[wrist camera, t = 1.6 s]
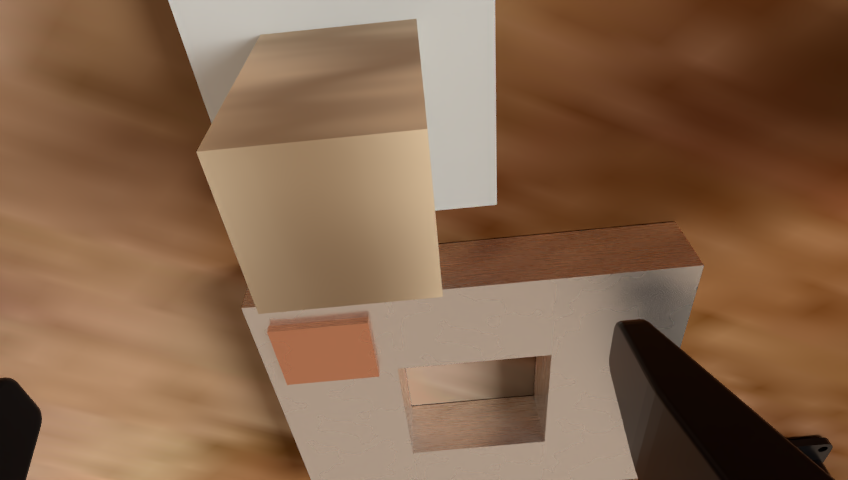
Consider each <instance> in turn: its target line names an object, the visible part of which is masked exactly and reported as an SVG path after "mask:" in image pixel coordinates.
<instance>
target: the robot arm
mask: <svg viewBox="0 0 848 480" xmlns="http://www.w3.org/2000/svg"><path fill="white" fill-rule="evenodd" d="M609 368H610V373H611V378H612V382H613V386H614V389H615V393H616V397H617V401H618V405H619V409H620V413H621V417H622V421H623V425H624V429H625V433H626V437H627V441H628V445H629V449H630V453H631V457H632V460H633V464H634V468H635V471H636V474H637V477H638V480H835V479H833V478H832V477H831V475H830V474H829V472H828V470H827V469H826V467H825V466H824V464H823V462H824V460H825V459H826V457H827V456H828V454H829V453H830V451H831V450H832V447H833V446H832V445H831V443H830V442H829V440H828V439H827V438H811V439H799V440H787V439H786V438H785V437H784V436H783V435H782V434H780V433H779V432H778V431H777V430H776V429H775V428H773V427H772V426H771V425H770V424H769V423H767V422H766V421H765V420H764V419H763V418H762V417H760V416H759V415H758V414H757V413H756V412H755V411H753V410H752V409H751V408H750V407H749V406H747V405H746V404H745V403H744V402H743V401H742V400H740V399H739V398H738V397H737V396H736V395H734V394H733V393H732V392H731V391H730V390H729V389H727V388H726V387H725V386H724V385H723V384H722V383H720V382H719V381H718V380H717V379H716V378H714V377H713V376H712V375H711V374H710V373H709V372H707V371H706V370H705V369H704V368H703V367H702V366H700V365H699V364H698V363H697V362H696V361H694V360H693V359H692V358H691V357H690V356H689V355H687V354H686V353H685V352H684V351H683V350H682V349H680V348H679V347H678V346H677V345H676V344H674V343H673V342H672V341H671V340H670V339H669V338H667V337H666V336H665V335H664V334H663V333H662V332H660V331H659V330H658V329H657V328H656V327H654V326H653V325H652V324H651V323H650V322H648V321H646V320H644V319H634V320H623V321H619V322H617V323H616V325H615V327H614V331H613V337H612V343H611V349H610V355H609ZM41 423H42V416H41V411H40V409H39V407H38V406H37V405H36V404H35V403H34V401H33V400H32V399H31V398H30V397H29V395H28V394H27V393H26V392H25V391H24V390H23V388H22V387H21V386H20V385H19V384H18V383H17V382H16V381H15V380H14V379H11V378H0V480H26V477H27V474H28V470H29V467H30V463H31V459H32V456H33V452H34V449H35V445H36V442H37V438H38V434H39V431H40V427H41Z"/></svg>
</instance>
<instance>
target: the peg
mask: <svg viewBox="0 0 848 480" xmlns="http://www.w3.org/2000/svg"><path fill="white" fill-rule="evenodd" d="M196 152H197V155H198V158H199V160H200V163H201V165H202V168H203V171H204V173H205V176H206V179H207V181H208V184H209V186H210V189H211V192H212V194H213V197H214V199H215V202H216V205H217V207H218V210H219V212H220V215H221V218H222V220H223V223H224V225H225V228H226V231H227V233H228V236H229V238H230V241H231V244H232V246H233V249H234V252H235V254H236V257H237V259H238V262H239V265H240V267H241V270H242V272H243V275H244V278H245V280H246V283H247V285H248V288H249V291H250V293H251V296H252V298H253V301H254V304H255V306H256V309H257V311H258V314H264V313H275V312H286V311H297V310H308V309H318V308H329V307H340V306H351V305H362V304H372V303H383V302H394V301H405V300H416V299H427V298H437V297H443V292H442V281H441V270H440V259H439V248H438V237H437V227H436V216H435V205H434V194H433V183H432V172H431V162H430V151H429V140H428V129H427V119H426V109H425V99H424V89H423V79H422V69H421V59H420V49H419V40H418V30H417V20H416V19H409V20H399V21H389V22H380V23H370V24H360V25H350V26H341V27H331V28H321V29H312V30H302V31H292V32H283V33H273V34H263V35H260V36H259V38H258V40H257V42H256V44H255V46H254V47H253V49H252V51H251V53H250V55H249V56H248V58H247V60H246V62H245V64H244V66H243V67H242V69H241V71H240V73H239V75H238V77H237V78H236V80H235V82H234V84H233V86H232V87H231V89H230V91H229V93H228V95H227V97H226V98H225V100H224V102H223V104H222V106H221V108H220V109H219V111H218V113H217V115H216V117H215V118H214V120H213V122H212V124H211V126H210V128H209V129H208V131H207V133H206V135H205V137H204V139H203V140H202V142H201V144H200V146H199V148H198V149H197V151H196Z"/></svg>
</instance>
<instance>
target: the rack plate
mask: <svg viewBox="0 0 848 480" xmlns="http://www.w3.org/2000/svg"><path fill="white" fill-rule="evenodd" d="M438 248H439V259H440V270H441V281H442V292H443V297H437V298H427V299H416V300H405V301H394V302H383V303H372V304H362V305H351V306H340V307H329V308H318V309H308V310H297V311H286V312H275V313H264V314H258V311H257V309H256V306H255V304H254V301H253V298H252V296H251V293H250V291H249V288H248V287H247V290H246V294H245V297H244V300H243V304H242V307H241V309H242V311H243V314H244V316H245V319H246V321H247V324H248V326H249V329H250V331H251V334H252V336H253V338H254V341H255V343H256V346H257V348H258V351H259V353H260V356H261V358H262V361H263V363H264V365H265V368H266V370H267V373H268V375H269V378H270V380H271V383H272V385H273V388H274V390H275V393H276V395H277V397H278V400H279V402H280V405H281V407H282V410H283V412H284V415H285V417H286V420H287V422H288V424H289V427H290V429H291V432H292V434H293V437H294V439H295V442H296V444H297V447H298V449H299V451H300V454H301V456H302V459H303V461H304V464H305V466H306V469H307V471H308V474H309V476H310V479H311V480H624V479H636V478H638V477H637V474H636V471H635V468H634V464H633V460H632V457H631V453H630V449H629V445H628V441H627V437H626V433H625V429H624V425H623V421H622V417H621V413H620V409H619V405H618V401H617V397H616V393H615V389H614V386H613V382H612V378H611V373H610V368H609V355H610V349H611V343H612V337H613V331H614V327H615V325H616V323H617V322H619V321H623V320H634V319H644V320H646V321H648V322H650V323H651V324H652V325H653V326H654V327H656V328H657V329H658V330H659V331H660V332H662V333H663V334H664V335H665V336H666V337H667V338H669V339H670V340H671V341H672V342H673V343H674V344H676V345H677V346H678V347H679V348H680V346H681V343H682V339H683V336H684V332H685V329H686V325H687V322H688V319H689V315H690V312H691V308H692V305H693V301H694V298H695V294H696V291H697V288H698V284H699V281H700V277H701V274H702V270H703V267H704V265H703V263H702V261H701V260H700V258H699V257H698V255H697V254H696V252H695V251H694V249H693V248H692V246H691V245H690V243H689V242H688V240H687V239H686V237H685V236H684V234H683V232H682V231H681V229H680V228H679V226H678V225H677V223H676V222H668V223H658V224H647V225H637V226H626V227H615V228H605V229H594V230H584V231H573V232H563V233H552V234H541V235H531V236H520V237H510V238H499V239H488V240H478V241H467V242H457V243H446V244H438ZM535 356H536V366H535V385H534V396H523V397H512V398H500V399H489V400H478V401H466V402H455V403H444V404H433V405H421V406H411V401H410V395H409V389H408V383H407V377H406V371H405V368H412V367H424V366H435V365H446V364H457V363H468V362H479V361H490V360H501V359H512V358H524V357H535Z"/></svg>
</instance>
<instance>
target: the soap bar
mask: <svg viewBox="0 0 848 480" xmlns="http://www.w3.org/2000/svg"><path fill="white" fill-rule="evenodd" d="M168 1H169V4H170V7H171V10H172V13H173V16H174V18H175V21H176V24H177V27H178V30H179V33H180V36H181V38H182V41H183V44H184V47H185V50H186V53H187V55H188V58H189V61H190V64H191V67H192V70H193V72H194V75H195V78H196V81H197V84H198V87H199V89H200V92H201V95H202V98H203V101H204V104H205V107H206V109H207V112H208V115H209V118H210V121H211V124H212V122H213V120H214V118H215V117H216V115H217V113H218V111H219V109H220V108H221V106H222V104H223V102H224V100H225V98H226V97H227V95H228V93H229V91H230V89H231V87H232V86H233V84H234V82H235V80H236V78H237V77H238V75H239V73H240V71H241V69H242V67H243V66H244V64H245V62H246V60H247V58H248V56H249V55H250V53H251V51H252V49H253V47H254V46H255V44H256V42H257V40H258V38H259V36H260V35H263V34H273V33H283V32H292V31H302V30H312V29H321V28H331V27H341V26H350V25H360V24H370V23H380V22H389V21H399V20H409V19H416V20H417V30H418V40H419V49H420V59H421V69H422V79H423V89H424V99H425V109H426V119H427V129H428V140H429V151H430V162H431V172H432V183H433V194H434V205H435V211H436V210H447V209H457V208H468V207H478V206H489V205H497V165H496V54H495V0H168Z"/></svg>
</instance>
